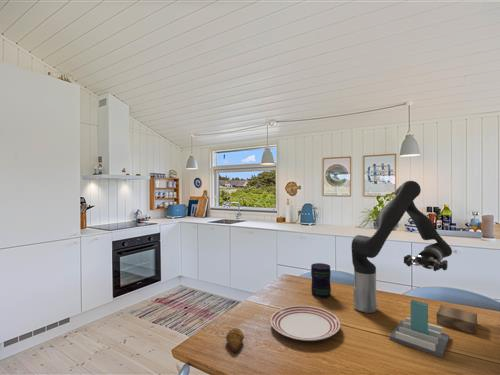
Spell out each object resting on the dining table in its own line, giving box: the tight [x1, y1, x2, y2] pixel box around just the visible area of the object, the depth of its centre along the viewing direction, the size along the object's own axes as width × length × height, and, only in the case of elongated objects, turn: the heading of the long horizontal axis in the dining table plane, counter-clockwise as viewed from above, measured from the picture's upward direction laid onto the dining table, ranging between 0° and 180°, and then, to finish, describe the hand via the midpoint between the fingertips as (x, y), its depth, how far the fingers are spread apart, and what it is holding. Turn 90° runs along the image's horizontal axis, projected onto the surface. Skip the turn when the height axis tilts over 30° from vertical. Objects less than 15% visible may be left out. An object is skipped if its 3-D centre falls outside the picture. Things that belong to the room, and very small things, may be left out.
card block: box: [410, 299, 429, 335], centre depth 99 cm, size 5×2×12 cm, turn 46°
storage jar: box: [310, 262, 332, 299], centre depth 140 cm, size 10×10×15 cm
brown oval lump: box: [225, 327, 245, 354], centre depth 99 cm, size 14×7×5 cm, turn 2°
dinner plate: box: [270, 305, 341, 342], centre depth 109 cm, size 27×27×3 cm
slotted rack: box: [389, 316, 451, 358], centre depth 99 cm, size 16×15×3 cm
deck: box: [436, 304, 478, 335], centre depth 109 cm, size 12×10×4 cm
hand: (421, 266), depth 102 cm, fingers open, 8 cm apart
